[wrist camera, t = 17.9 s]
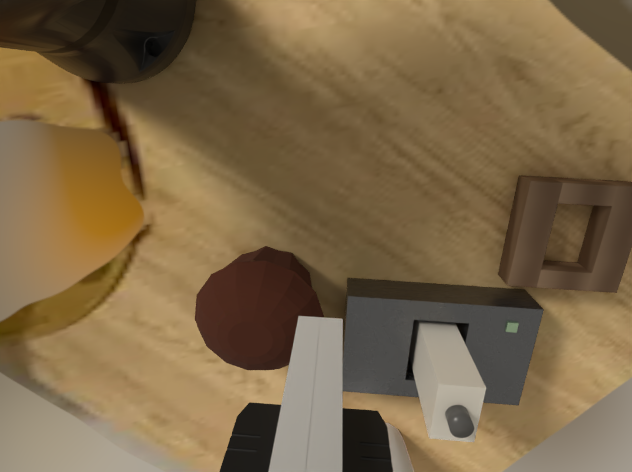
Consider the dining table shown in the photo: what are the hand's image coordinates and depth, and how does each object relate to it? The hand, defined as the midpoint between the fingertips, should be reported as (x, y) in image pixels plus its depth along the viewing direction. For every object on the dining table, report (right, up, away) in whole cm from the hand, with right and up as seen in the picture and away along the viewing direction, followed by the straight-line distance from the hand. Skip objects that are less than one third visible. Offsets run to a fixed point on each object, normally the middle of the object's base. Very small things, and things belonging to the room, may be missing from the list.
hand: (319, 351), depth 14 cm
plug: (+12, -6, +29) cm, 32 cm away
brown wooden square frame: (+23, +5, +25) cm, 34 cm away
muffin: (-5, -1, +29) cm, 29 cm away
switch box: (+12, -6, +29) cm, 32 cm away
